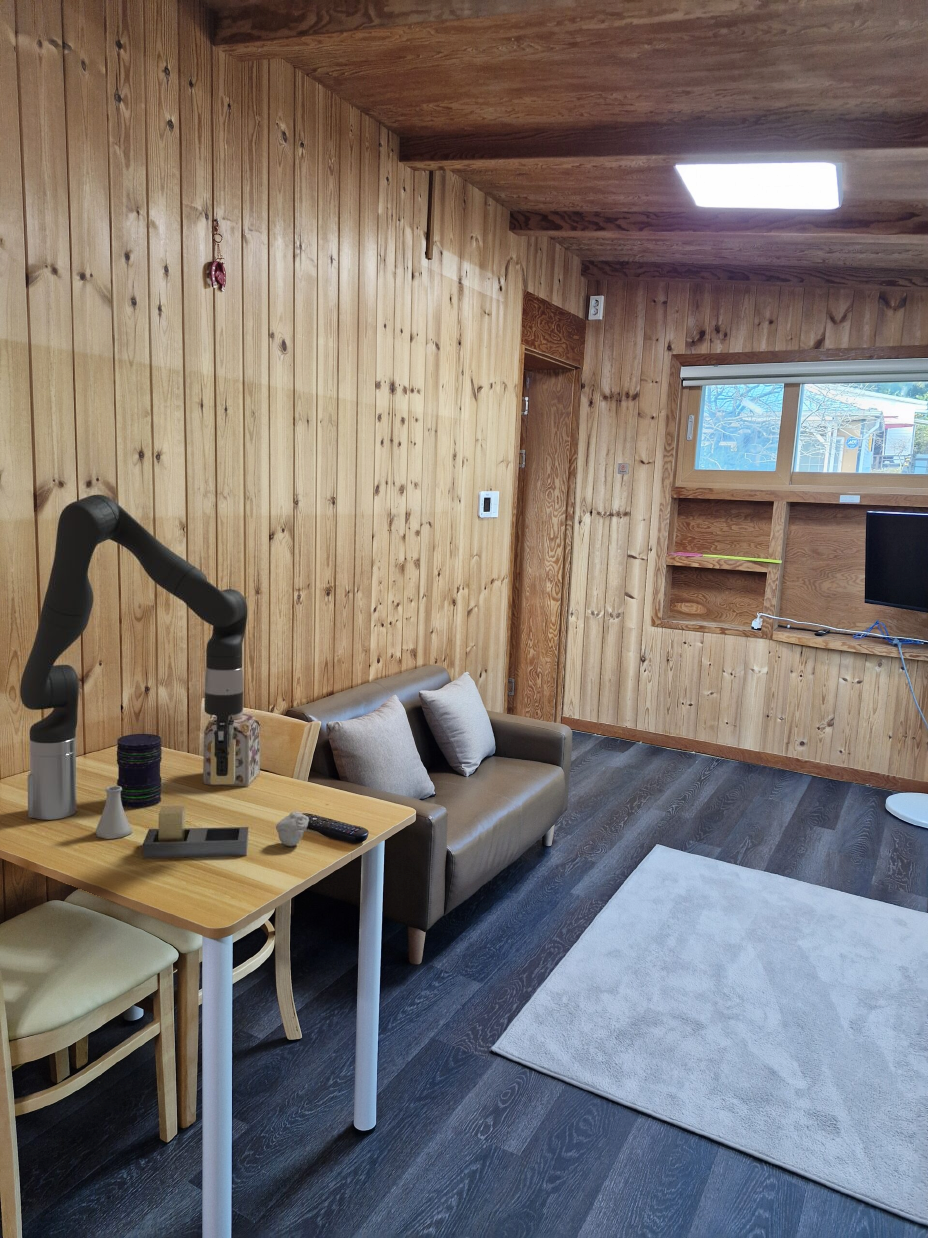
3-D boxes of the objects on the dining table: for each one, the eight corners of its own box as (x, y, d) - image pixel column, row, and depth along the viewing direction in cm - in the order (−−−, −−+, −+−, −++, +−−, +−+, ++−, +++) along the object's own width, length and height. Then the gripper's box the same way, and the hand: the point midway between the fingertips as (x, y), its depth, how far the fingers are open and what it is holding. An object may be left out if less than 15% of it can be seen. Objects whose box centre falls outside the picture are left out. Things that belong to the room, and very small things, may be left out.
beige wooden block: (233, 784, 181) (234, 745, 180) (210, 784, 180) (210, 745, 179) (235, 777, 185) (235, 739, 184) (212, 777, 184) (212, 739, 183)
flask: (120, 824, 195) (120, 780, 194) (138, 833, 190) (138, 788, 189) (88, 833, 189) (88, 787, 188) (106, 842, 185) (106, 796, 183)
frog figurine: (312, 847, 187) (313, 815, 186) (280, 853, 184) (280, 820, 183) (302, 837, 192) (303, 806, 192) (270, 842, 189) (271, 810, 188)
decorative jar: (216, 770, 235) (217, 703, 233) (260, 773, 235) (262, 706, 232) (201, 785, 223) (202, 714, 221) (248, 788, 223) (249, 717, 221)
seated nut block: (158, 852, 180) (158, 813, 179) (161, 843, 184) (161, 806, 183) (181, 851, 181) (182, 813, 180) (184, 843, 185) (184, 805, 184)
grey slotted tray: (142, 858, 178) (142, 844, 177) (148, 843, 185) (149, 829, 185) (246, 855, 182) (246, 841, 181) (248, 840, 189) (248, 827, 189)
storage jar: (132, 811, 203) (132, 747, 201) (108, 801, 209) (107, 739, 207) (170, 801, 211) (170, 739, 209) (145, 791, 217) (146, 731, 215)
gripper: (241, 697, 174) (239, 782, 176) (245, 682, 188) (243, 761, 190) (201, 697, 172) (200, 783, 175) (207, 681, 186) (207, 761, 188)
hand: (223, 771), depth 182 cm, fingers closed on beige wooden block, 4 cm apart
